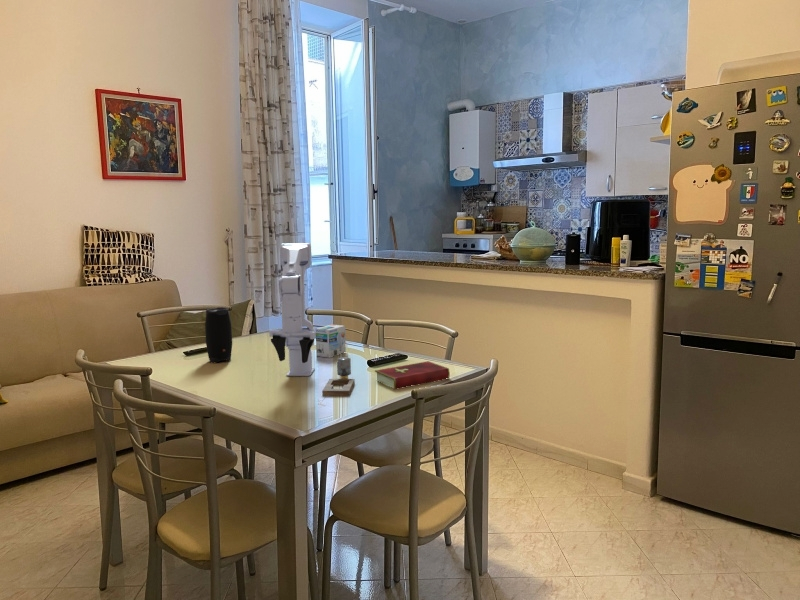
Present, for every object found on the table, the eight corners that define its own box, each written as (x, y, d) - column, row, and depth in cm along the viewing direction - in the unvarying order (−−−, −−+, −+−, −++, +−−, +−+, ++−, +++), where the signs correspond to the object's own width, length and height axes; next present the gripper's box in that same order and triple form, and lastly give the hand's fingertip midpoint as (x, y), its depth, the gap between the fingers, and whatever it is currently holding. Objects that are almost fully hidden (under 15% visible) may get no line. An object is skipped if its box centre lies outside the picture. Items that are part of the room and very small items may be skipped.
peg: (338, 377, 200) (338, 357, 199) (351, 377, 200) (351, 357, 199) (336, 381, 195) (335, 360, 195) (350, 381, 195) (349, 360, 194)
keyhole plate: (329, 383, 193) (329, 378, 193) (354, 383, 192) (354, 378, 192) (322, 395, 180) (322, 390, 180) (349, 395, 180) (349, 390, 179)
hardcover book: (449, 380, 196) (449, 367, 196) (394, 391, 185) (394, 377, 185) (428, 372, 206) (428, 360, 206) (375, 382, 195) (374, 369, 195)
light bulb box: (329, 358, 227) (328, 330, 225) (315, 356, 230) (314, 328, 229) (346, 352, 236) (345, 325, 234) (332, 350, 239) (332, 323, 238)
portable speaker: (232, 362, 222) (230, 309, 219) (206, 364, 220) (202, 311, 217) (233, 357, 231) (230, 306, 228) (207, 358, 228) (204, 307, 225)
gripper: (263, 317, 177) (265, 362, 179) (307, 319, 173) (309, 366, 175) (275, 313, 184) (277, 357, 186) (318, 315, 179) (320, 360, 181)
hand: (293, 361), depth 181 cm, fingers open, 7 cm apart
